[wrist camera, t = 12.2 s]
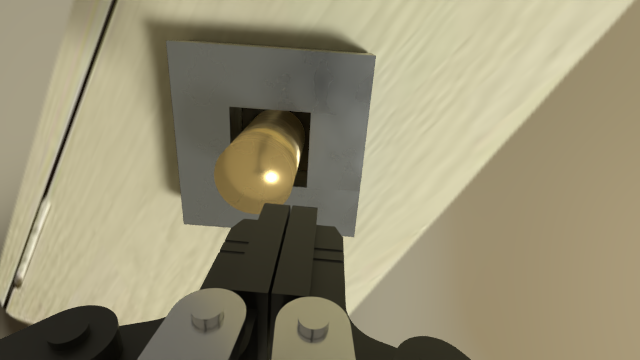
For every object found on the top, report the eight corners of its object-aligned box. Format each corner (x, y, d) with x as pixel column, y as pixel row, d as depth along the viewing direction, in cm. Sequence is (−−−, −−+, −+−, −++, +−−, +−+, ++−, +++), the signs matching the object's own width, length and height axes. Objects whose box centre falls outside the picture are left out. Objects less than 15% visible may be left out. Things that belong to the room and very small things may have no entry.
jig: (186, 40, 23) (165, 40, 20) (370, 53, 22) (375, 55, 20) (199, 205, 27) (183, 224, 24) (351, 216, 27) (353, 236, 24)
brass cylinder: (248, 107, 24) (210, 139, 17) (305, 109, 24) (293, 142, 17) (250, 161, 26) (217, 212, 18) (304, 163, 26) (293, 215, 18)
